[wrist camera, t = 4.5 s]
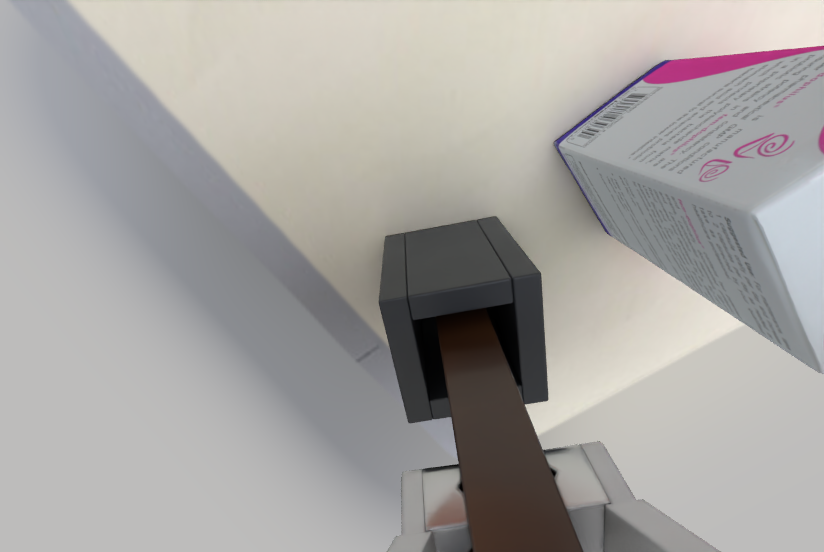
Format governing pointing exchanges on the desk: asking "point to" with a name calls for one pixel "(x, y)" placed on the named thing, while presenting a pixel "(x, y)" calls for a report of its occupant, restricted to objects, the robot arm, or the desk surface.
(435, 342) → the holder
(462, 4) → the desk surface
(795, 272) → the supplement box
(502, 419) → the stick
